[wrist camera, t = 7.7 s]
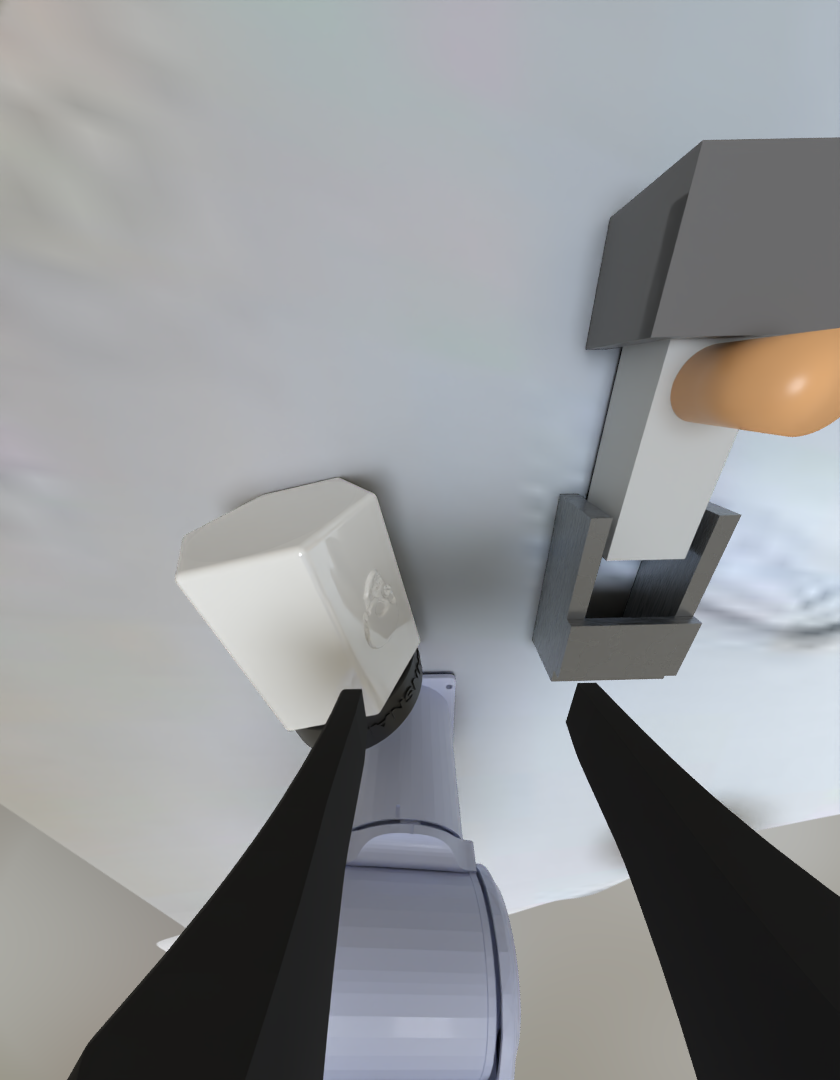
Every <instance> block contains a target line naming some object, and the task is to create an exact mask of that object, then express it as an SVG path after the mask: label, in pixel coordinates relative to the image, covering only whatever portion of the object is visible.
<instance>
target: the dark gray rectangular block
mask: <svg viewBox="0 0 840 1080" xmlns="http://www.w3.org/2000/svg"><path fill="white" fill-rule="evenodd" d="M835 328H840V138H790V139H738V140H703V141H701V142H700V143H699V144H698V145H697V146H696V147H694V148H693V149H692V150H691V151H690V152H688V153H687V154H686V155H685V156H684V157H682V158H681V159H680V160H679V161H678V162H676V163H675V164H674V165H673V166H672V167H670V168H669V169H668V170H667V171H666V172H665V173H663V174H662V175H661V176H660V177H659V178H657V179H656V180H655V181H654V182H653V183H651V184H650V185H649V186H648V187H647V188H645V189H644V190H643V191H642V192H641V193H639V194H638V195H637V196H636V197H635V198H634V199H632V200H631V201H630V202H629V203H628V204H626V205H625V206H624V207H623V208H622V209H620V210H619V211H618V212H617V213H616V214H614V215H613V216H612V217H611V218H610V222H609V228H608V233H607V238H606V244H605V249H604V254H603V260H602V265H601V270H600V276H599V281H598V286H597V292H596V297H595V302H594V307H593V313H592V318H591V323H590V329H589V334H588V339H587V345H586V350H596V349H612V348H617V347H623V346H629V345H635V344H641V343H647V342H653V341H659V340H665V339H704V338H750V337H772V336H780V335H788V334H796V333H804V332H811V331H819V330H827V329H835Z"/></svg>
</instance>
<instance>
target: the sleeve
mask: <svg viewBox="0 0 840 1080" xmlns="http://www.w3.org/2000/svg"><path fill="white" fill-rule="evenodd" d="M740 517H741V515H740V514H738V513H735V512H733V511H730V510H728V509H726V508H723V507H721V506H718V505H716V504H713V503H711V502H708V505H707V507H706V510H705V512H704V514H703V517H702V519H701V522H700V524H699V526H698V529H697V531H696V534H695V536H694V538H693V541H692V543H691V545H690V548H689V550H688V553H687V555H686V557H685V559H662V560H642V562H641V565H640V568H639V571H638V574H637V577H636V580H635V583H634V585H633V588H632V591H631V594H630V597H629V600H628V603H627V605H626V608H625V611H624V614H623V617H622V618H587V619H585V616H586V612H587V608H588V605H589V601H590V598H591V594H592V591H593V587H594V583H595V580H596V576H597V573H598V569H599V566H600V562H601V558H602V555H603V551H604V548H605V544H606V541H607V537H608V533H609V530H610V526H611V523H612V519H613V518H612V517H611V516H609V515H608V514H606V513H605V512H603V511H602V510H600V509H599V508H598V507H596V506H595V505H593V504H592V503H590V502H589V501H587V500H586V499H584V498H583V497H582V496H580V495H579V494H560V498H559V503H558V508H557V514H556V519H555V524H554V529H553V535H552V540H551V545H550V550H549V556H548V561H547V566H546V571H545V577H544V582H543V587H542V592H541V598H540V603H539V608H538V613H537V619H536V624H535V629H534V634H533V642H534V645H535V647H536V649H537V651H538V653H539V656H540V658H541V660H542V662H543V664H544V667H545V669H546V671H547V673H548V675H549V678H550V680H551V681H588V680H626V679H663V678H664V676H674V675H676V674H677V672H678V670H679V668H680V666H681V664H682V662H683V660H684V658H685V656H686V654H687V652H688V650H689V648H690V646H691V644H692V642H693V640H694V638H695V636H696V634H697V632H698V630H699V628H700V626H701V624H702V623H701V622H700V621H699V620H697V619H696V618H695V617H694V616H693V615H694V613H695V611H696V609H697V607H698V605H699V603H700V600H701V598H702V596H703V594H704V592H705V590H706V588H707V586H708V584H709V582H710V580H711V577H712V575H713V573H714V571H715V569H716V567H717V565H718V563H719V561H720V559H721V557H722V554H723V552H724V550H725V548H726V546H727V544H728V542H729V540H730V538H731V536H732V534H733V531H734V529H735V527H736V525H737V523H738V521H739V519H740Z"/></svg>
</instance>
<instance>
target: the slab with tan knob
mask: <svg viewBox="0 0 840 1080" xmlns="http://www.w3.org/2000/svg"><path fill="white" fill-rule="evenodd" d="M839 417H840V328H835V329H827V330H819V331H811V332H804V333H796V334H788V335H780V336H772V337H750V338H704V339H665V340H659V341H653V342H647V343H641V344H635V345H629V346H623V349H622V353H621V357H620V362H619V366H618V370H617V375H616V379H615V383H614V387H613V392H612V396H611V400H610V405H609V409H608V413H607V417H606V422H605V426H604V430H603V435H602V439H601V443H600V447H599V452H598V456H597V460H596V465H595V469H594V473H593V477H592V482H591V486H590V490H589V495H588V499H587V501H589V502H590V503H592V504H593V505H595V506H596V507H598V508H599V509H600V510H602V511H603V512H605V513H606V514H608V515H609V516H611V517H612V518H613V519H612V523H611V526H610V530H609V533H608V537H607V541H606V544H605V548H604V551H603V555H602V557H603V558H604V559H605V560H606V561H621V560H662V559H685V557H686V555H687V553H688V550H689V548H690V545H691V543H692V541H693V538H694V536H695V534H696V531H697V529H698V526H699V524H700V522H701V519H702V517H703V514H704V512H705V510H706V507H707V505H708V502H709V500H710V498H711V495H712V493H713V491H714V488H715V486H716V483H717V481H718V479H719V476H720V474H721V471H722V469H723V467H724V464H725V462H726V460H727V457H728V455H729V452H730V450H731V448H732V445H733V443H734V440H735V438H736V436H737V433H738V431H739V429H740V430H747V431H754V432H760V433H767V434H774V435H781V436H788V437H797V436H803V435H807V434H810V433H813V432H816V431H818V430H820V429H822V428H824V427H826V426H827V425H829V424H831V423H832V422H834V421H835V420H836V419H838V418H839Z"/></svg>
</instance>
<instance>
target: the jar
mask: <svg viewBox="0 0 840 1080" xmlns="http://www.w3.org/2000/svg"><path fill="white" fill-rule="evenodd" d="M175 581H176V583H177V585H178V586H179V587H180V589H181V590H182V591H183V593H184V594H185V595H186V597H187V598H188V599H189V601H190V602H191V603H192V605H193V606H194V607H195V609H196V610H197V611H198V613H199V614H200V615H201V617H202V618H203V619H204V621H205V622H206V623H207V625H208V626H209V627H210V629H211V630H212V631H213V633H214V634H215V635H216V637H217V638H218V639H219V641H220V642H221V643H222V645H223V646H224V647H225V649H226V650H227V651H228V653H229V654H230V655H231V657H232V658H233V659H234V661H235V662H236V663H237V665H238V666H239V667H240V669H241V670H242V671H243V673H244V674H245V675H246V677H247V678H248V679H249V681H250V682H251V683H252V685H253V686H254V687H255V689H256V690H257V691H258V693H259V694H260V695H261V697H262V698H263V699H264V701H265V702H266V703H267V705H268V706H269V707H270V709H271V710H272V711H273V713H274V714H275V715H276V717H277V718H278V719H279V720H280V722H281V723H282V724H283V726H284V727H285V728H286V730H288V731H293V730H295V731H296V732H297V733H298V735H299V736H300V738H301V739H302V740H303V741H304V742H305V743H306V744H307V745H308V746H309V747H311V748H313V746H314V744H315V742H316V740H317V739H318V737H319V735H320V733H321V731H322V729H323V727H324V726H325V724H326V722H327V720H328V718H329V716H330V714H331V712H332V710H333V708H334V705H335V703H336V701H337V699H338V697H339V694H340V692H341V691H342V690H343V689H362V693H363V700H364V706H365V713H366V719H367V726H368V730H367V741H366V749H368V748H370V747H372V746H374V745H376V744H378V743H379V742H381V741H383V740H384V739H385V738H387V737H388V736H389V735H391V734H392V733H393V732H394V731H395V730H396V729H397V728H398V727H399V726H400V725H401V724H402V723H403V722H404V720H405V719H406V718H407V717H408V715H409V714H410V712H411V711H412V709H413V707H414V705H415V703H416V701H417V699H418V696H419V693H420V690H421V685H422V665H421V661H420V654H419V651H418V648H417V647H418V645H419V644H420V637H419V634H418V630H417V627H416V624H415V621H414V617H413V614H412V611H411V608H410V604H409V601H408V598H407V594H406V591H405V588H404V585H403V581H402V578H401V575H400V571H399V568H398V565H397V562H396V558H395V555H394V552H393V548H392V545H391V542H390V539H389V535H388V532H387V529H386V525H385V522H384V519H383V516H382V512H381V509H380V506H379V502H378V499H377V497H376V495H375V494H374V493H372V492H370V491H368V490H366V489H363V488H361V487H359V486H357V485H355V484H352V483H350V482H348V481H346V480H344V479H342V478H333V479H329V480H324V481H320V482H316V483H312V484H307V485H303V486H299V487H294V488H290V489H286V490H282V491H277V492H273V493H269V494H264V495H261V496H259V497H257V498H255V499H254V500H252V501H250V502H248V503H246V504H244V505H242V506H240V507H238V508H236V509H234V510H232V511H230V512H229V513H227V514H225V515H223V516H221V517H219V518H217V519H215V520H213V521H211V522H209V523H207V524H205V525H204V526H202V527H200V528H198V529H196V530H194V531H192V532H190V533H188V534H186V535H185V536H184V537H183V538H182V543H181V549H180V554H179V560H178V565H177V570H176V575H175Z"/></svg>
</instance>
